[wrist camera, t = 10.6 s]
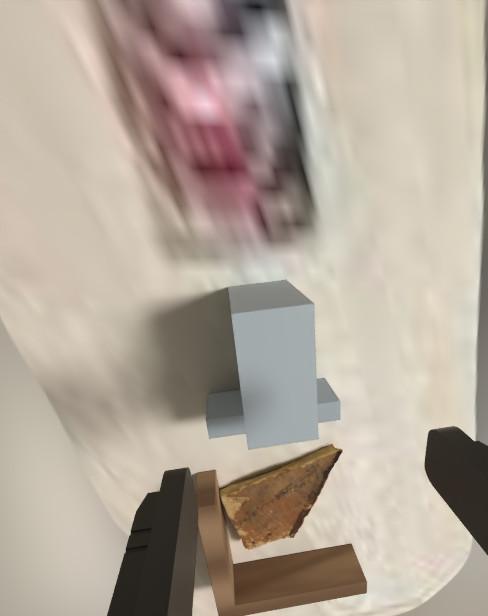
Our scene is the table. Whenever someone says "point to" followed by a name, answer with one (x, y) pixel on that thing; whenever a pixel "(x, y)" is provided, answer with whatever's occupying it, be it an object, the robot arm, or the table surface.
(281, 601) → the corner fence
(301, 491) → the shard
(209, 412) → the grey inverted t block
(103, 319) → the table surface
